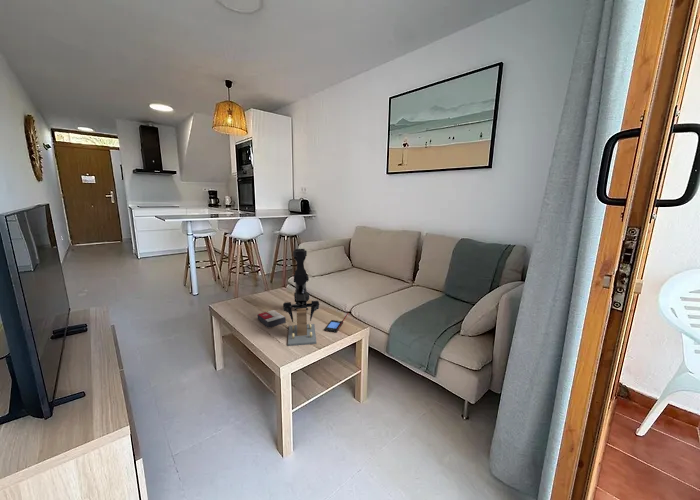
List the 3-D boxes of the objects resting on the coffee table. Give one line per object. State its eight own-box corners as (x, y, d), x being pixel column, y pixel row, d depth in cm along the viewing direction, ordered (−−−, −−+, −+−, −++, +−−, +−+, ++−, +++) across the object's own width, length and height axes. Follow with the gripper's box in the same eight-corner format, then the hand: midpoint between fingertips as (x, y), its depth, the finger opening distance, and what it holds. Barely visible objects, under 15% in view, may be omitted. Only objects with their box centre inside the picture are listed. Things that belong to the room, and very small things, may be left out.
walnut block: (297, 331, 156) (296, 308, 153) (306, 330, 156) (306, 308, 154) (297, 335, 151) (296, 312, 148) (307, 335, 152) (306, 312, 149)
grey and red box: (274, 308, 179) (285, 315, 167) (274, 315, 179) (286, 322, 168) (256, 313, 172) (267, 321, 160) (257, 320, 173) (268, 328, 161)
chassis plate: (289, 327, 162) (289, 321, 161) (314, 325, 165) (314, 319, 164) (287, 346, 143) (287, 339, 142) (316, 343, 145) (316, 337, 145)
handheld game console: (331, 321, 170) (331, 309, 169) (348, 324, 167) (349, 312, 166) (323, 331, 159) (323, 318, 157) (342, 334, 156) (342, 321, 154)
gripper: (282, 288, 151) (282, 316, 142) (318, 286, 154) (320, 314, 146) (283, 296, 160) (283, 324, 152) (317, 295, 163) (319, 322, 155)
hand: (301, 321), depth 151 cm, fingers open, 9 cm apart
